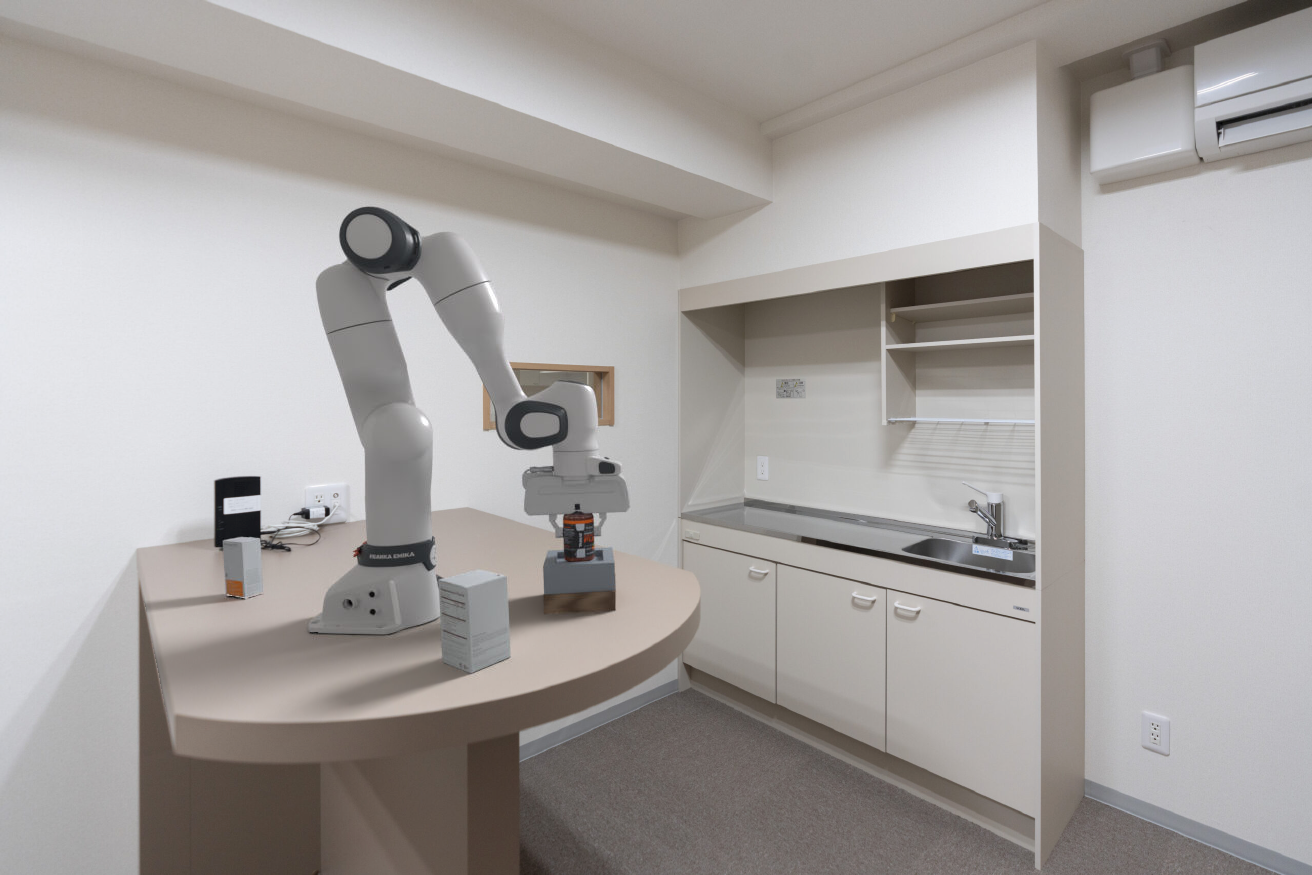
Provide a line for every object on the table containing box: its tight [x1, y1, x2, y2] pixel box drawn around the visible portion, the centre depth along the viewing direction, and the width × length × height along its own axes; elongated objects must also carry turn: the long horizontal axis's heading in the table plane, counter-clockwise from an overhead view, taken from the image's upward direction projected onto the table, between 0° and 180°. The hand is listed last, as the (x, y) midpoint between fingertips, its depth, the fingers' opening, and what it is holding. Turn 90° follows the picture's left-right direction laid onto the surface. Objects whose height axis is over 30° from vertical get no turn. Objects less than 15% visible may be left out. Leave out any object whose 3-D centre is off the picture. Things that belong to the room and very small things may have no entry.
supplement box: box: [437, 568, 512, 674], centre depth 93 cm, size 7×7×13 cm
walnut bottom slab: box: [543, 578, 617, 615], centre depth 121 cm, size 13×13×4 cm
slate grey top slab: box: [542, 546, 616, 596], centre depth 121 cm, size 13×13×5 cm
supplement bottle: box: [562, 504, 595, 562], centre depth 120 cm, size 6×6×11 cm
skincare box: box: [222, 536, 264, 597], centre depth 131 cm, size 6×4×12 cm
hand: (578, 536), depth 120 cm, fingers closed on supplement bottle, 6 cm apart
